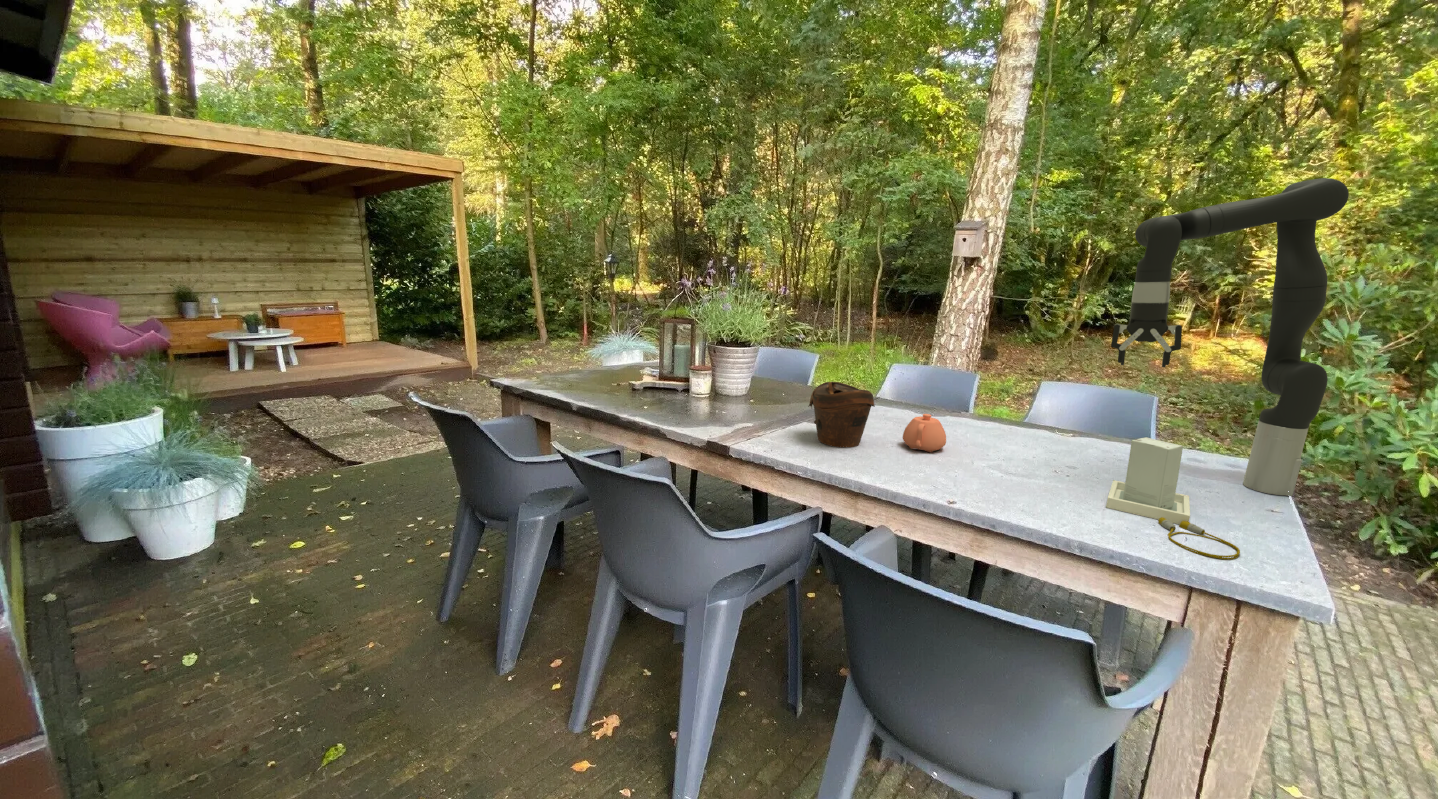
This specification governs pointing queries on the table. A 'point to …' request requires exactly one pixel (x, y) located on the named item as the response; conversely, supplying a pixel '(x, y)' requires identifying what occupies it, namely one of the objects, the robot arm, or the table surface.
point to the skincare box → (1152, 472)
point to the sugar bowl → (925, 434)
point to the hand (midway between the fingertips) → (1142, 365)
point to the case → (840, 413)
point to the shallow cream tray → (1173, 514)
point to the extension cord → (1198, 530)
